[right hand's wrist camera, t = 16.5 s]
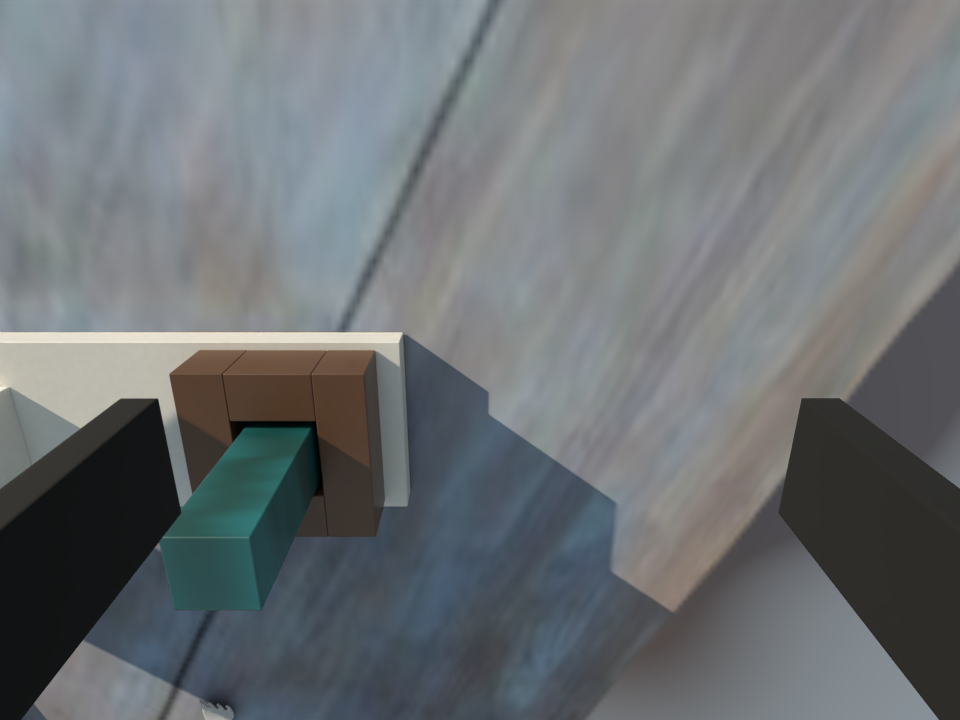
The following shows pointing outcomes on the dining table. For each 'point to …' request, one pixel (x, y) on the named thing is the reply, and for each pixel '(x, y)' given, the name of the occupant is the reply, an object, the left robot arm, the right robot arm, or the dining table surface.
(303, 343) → the peg board
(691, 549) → the dining table surface
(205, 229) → the dining table surface
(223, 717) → the fork
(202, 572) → the peg
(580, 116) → the dining table surface
